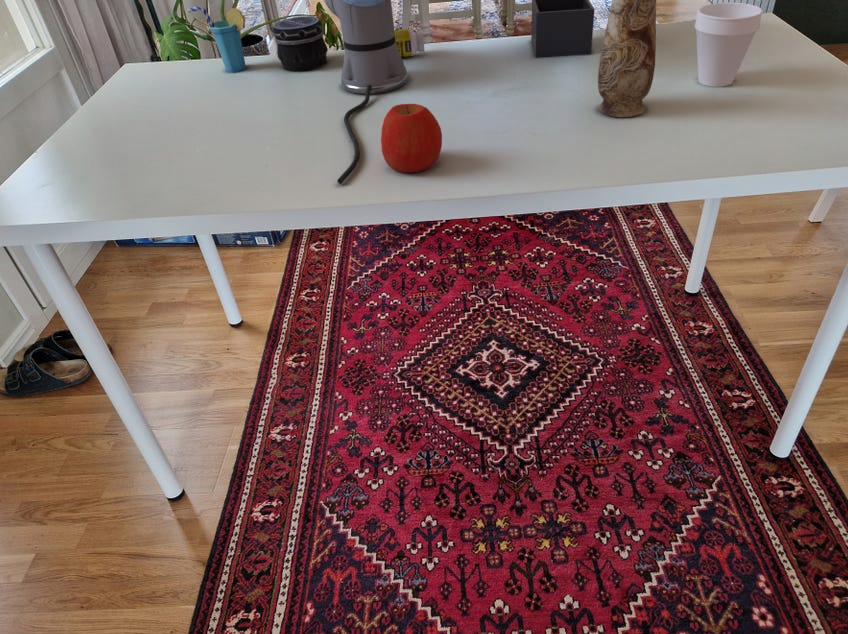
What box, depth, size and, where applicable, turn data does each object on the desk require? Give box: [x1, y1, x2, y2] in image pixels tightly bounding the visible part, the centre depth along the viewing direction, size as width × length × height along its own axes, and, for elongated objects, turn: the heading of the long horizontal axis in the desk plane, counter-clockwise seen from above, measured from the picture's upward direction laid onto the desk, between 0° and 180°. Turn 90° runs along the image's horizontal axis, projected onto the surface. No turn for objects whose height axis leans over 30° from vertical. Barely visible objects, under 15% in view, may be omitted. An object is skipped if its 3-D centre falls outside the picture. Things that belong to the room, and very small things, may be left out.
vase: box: [597, 0, 657, 118], centre depth 118 cm, size 10×11×30 cm
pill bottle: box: [394, 28, 425, 58], centre depth 161 cm, size 6×6×11 cm
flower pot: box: [694, 2, 764, 88], centre depth 131 cm, size 12×12×14 cm
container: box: [271, 15, 329, 72], centre depth 161 cm, size 13×13×10 cm
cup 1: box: [187, 5, 247, 73], centre depth 160 cm, size 14×8×15 cm, turn 87°
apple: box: [380, 103, 443, 173], centre depth 112 cm, size 11×11×11 cm
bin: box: [530, 0, 596, 58], centre depth 157 cm, size 13×13×10 cm
